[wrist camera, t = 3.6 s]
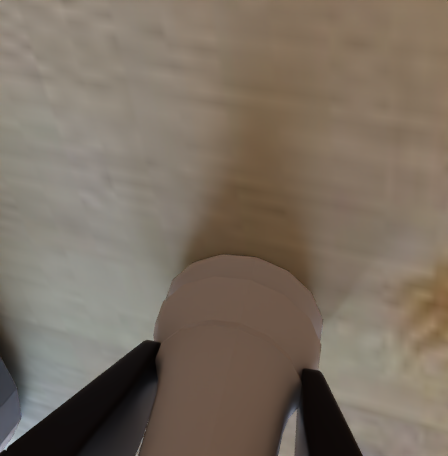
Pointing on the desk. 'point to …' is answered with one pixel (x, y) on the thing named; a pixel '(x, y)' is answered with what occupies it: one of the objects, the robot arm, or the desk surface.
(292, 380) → the rook chess piece
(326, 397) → the robot arm
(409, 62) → the desk surface
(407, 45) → the desk surface
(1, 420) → the basin
